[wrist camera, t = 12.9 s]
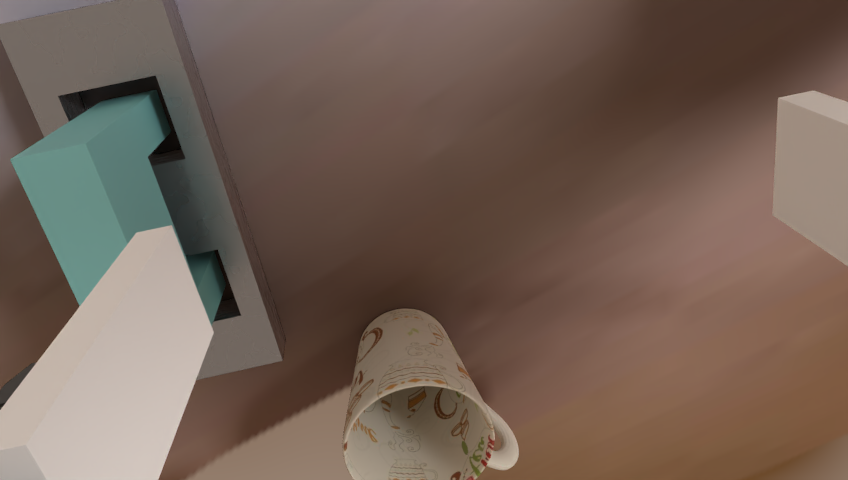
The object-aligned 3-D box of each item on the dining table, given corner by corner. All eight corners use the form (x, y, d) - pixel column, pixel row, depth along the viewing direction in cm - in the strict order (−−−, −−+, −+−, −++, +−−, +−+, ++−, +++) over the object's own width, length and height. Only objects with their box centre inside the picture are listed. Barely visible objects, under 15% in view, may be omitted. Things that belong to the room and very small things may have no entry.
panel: (102, 100, 36) (10, 159, 26) (156, 89, 36) (85, 143, 26) (178, 294, 41) (126, 405, 31) (225, 284, 41) (189, 391, 31)
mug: (382, 271, 42) (394, 360, 33) (535, 349, 46) (584, 447, 37) (319, 367, 44) (314, 474, 35) (470, 433, 48) (500, 545, 39)
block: (17, 20, 34) (-6, 25, 31) (170, -11, 34) (158, -8, 32) (165, 365, 43) (156, 389, 41) (285, 339, 43) (282, 360, 41)
